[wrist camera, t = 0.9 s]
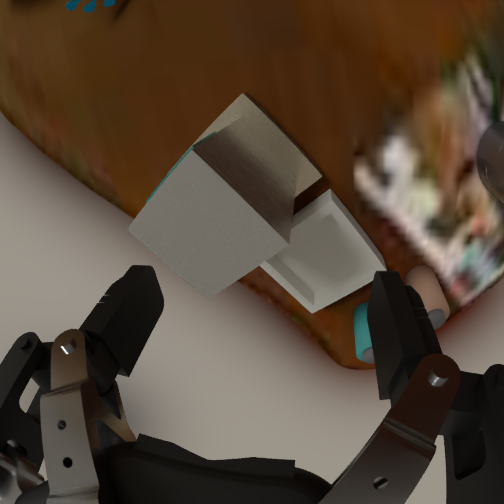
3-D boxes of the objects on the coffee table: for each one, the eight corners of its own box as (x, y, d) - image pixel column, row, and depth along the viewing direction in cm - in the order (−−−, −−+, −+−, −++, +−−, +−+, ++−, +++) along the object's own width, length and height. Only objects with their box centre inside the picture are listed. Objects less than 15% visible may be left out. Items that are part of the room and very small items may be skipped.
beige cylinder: (427, 259, 31) (446, 302, 24) (437, 280, 32) (455, 322, 26) (399, 276, 33) (412, 321, 27) (411, 295, 34) (424, 339, 28)
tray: (330, 188, 28) (332, 200, 26) (382, 256, 32) (387, 271, 29) (255, 243, 34) (251, 257, 31) (312, 297, 37) (311, 313, 35)
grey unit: (245, 92, 24) (195, 106, 13) (321, 171, 27) (330, 244, 16) (172, 169, 30) (102, 231, 19) (241, 234, 33) (207, 320, 23)
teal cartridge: (373, 297, 35) (381, 342, 29) (387, 314, 37) (395, 358, 31) (347, 311, 38) (350, 356, 31) (362, 326, 39) (366, 370, 33)
